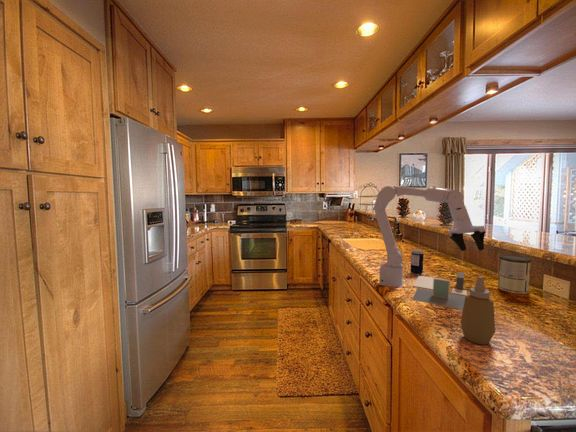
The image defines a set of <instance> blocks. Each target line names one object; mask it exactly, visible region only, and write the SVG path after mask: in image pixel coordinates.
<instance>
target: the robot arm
mask: <svg viewBox="0 0 576 432" xmlns="http://www.w3.org/2000/svg"><path fill="white" fill-rule="evenodd" d="M404 195H407V196H414V197H423V198H424V199H425V200H426V201H427V202H428V201H429V202H434V203H435V202H436V203H443V204H444V203H446V204H447V205H448V208H449V212H450V215H451V218H452V221H453V224H454V226H455V228H452V229H449V230H447V232H448V235H449V238H450V240H452V241H453V242H454V244H456V246H457V247H458V248H459V249H460V251H461V252H465V251H466V250H467V246H466V244H465V243H466V242H465V241H464V239H465V238H464V234H468V233H469V234H470V237H471V238H472V239H473V241H474V243H475V244H476V247H477V249H478V251H483V250H485V244H484V243H485V241H484V240H485V235H486V228H485V226H484V225H473V223H472V221H471V218H470V215H469V213H468V210H467V206H466V205H465V202H464V194H463V193H462V192H461V191H459V189H458V190H457V189H450V188H449V187H446V188H440V187H437V186H435V185H433V186H430V187H428V188H426V189H423V188H416V187H411V186H403V185H396V186H389V185H387V186H383V187H381V189H380V191H379V192H378V193H377V196H376V200H375V202H374V205H373V210H374V213H375V214H374V215H375V217H376V220H377V223H378V227H379V230H380V233H381V236H382V239H383V242H384V247H385V250H386V262H385V263H381V264H380V266H379V267H380V268H379V277H378V278H379V280H378V282H379V283H378V285H380V286H385V287H394V288H400V289H401V288H402V287H403V286H404V285H405V282H403V277H404V276H403V275H404V264H403V254H402V252H401V250H400V249H399V248H398V245H397V242H396V239H395V236H394V234H393V230H392V227H391V224H390V221H389V217H388V214H387V211H386V209H387V207H388V205H389V204H390V202H391V201H392V200H394V199H395V197H401V196H404Z"/></svg>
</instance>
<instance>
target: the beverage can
mask: <svg viewBox="0 0 576 432" xmlns="http://www.w3.org/2000/svg"><path fill="white" fill-rule="evenodd" d="M424 254H425V253H424V251H423V250H421V249H412V250H411V253H410V273H411V274H412V275H415V276H422V274H423V272H424Z"/></svg>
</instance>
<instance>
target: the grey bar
mask: <svg viewBox="0 0 576 432" xmlns="http://www.w3.org/2000/svg"><path fill="white" fill-rule="evenodd" d="M464 282H465V272H460V271H458V272H457V274H456V287H455V288H454V287H453V288H452V291H451V294H454V295H459V296H465V297H466V296H467V295H468V294H467V293H468V292H467V291H468V290H465V289H464Z"/></svg>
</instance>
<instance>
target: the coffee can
mask: <svg viewBox="0 0 576 432" xmlns="http://www.w3.org/2000/svg"><path fill="white" fill-rule="evenodd" d="M531 262H532V259H531V258H530V257H527V256H523V255H518V254H517V255H514V254H500V255H499V269H498V270H499V271H498V282H497V283H498V285H497V288H498V289H500V290H501V291H504V292H506V293H507V292H508V293H512V294H517V295H518V294H519V295H523V294H525V295H526V294H529V290H530V289H529V288H530V275H531V274H530V273H531Z"/></svg>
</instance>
